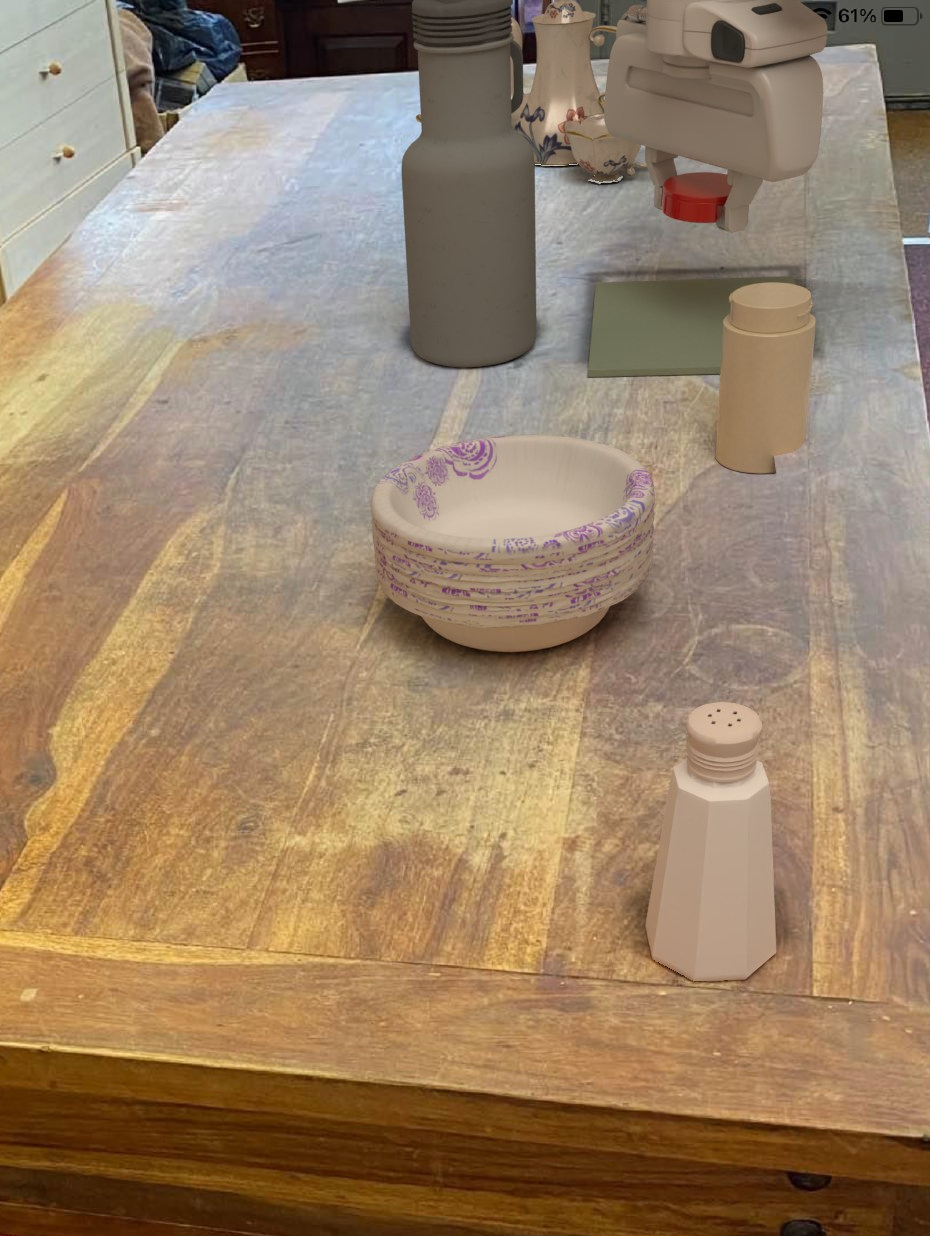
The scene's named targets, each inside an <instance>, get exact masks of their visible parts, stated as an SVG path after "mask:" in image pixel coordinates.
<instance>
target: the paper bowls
mask: <svg viewBox="0 0 930 1236" xmlns="http://www.w3.org/2000/svg"><path fill="white" fill-rule="evenodd" d="M654 486H655V485H654V480H653V478H652V476H651V474H650V473H649V471H648V469H647V468H646V466H644V464H643V463H641V462H640V461H639V460H638V459H637V458H635V457H633V456H632V455H630V454H629V453H626V452H625V451H623V450H621V449H618V448H616V447H614V446H610V445H608V444H604V443H601V442H597V441H593V440H589V439H584V438H578V437H572V436H564V435H563V436H562V435H549V434H548V435H546V434H515V435H514V434H513V435H512V434H511V435H509V434H508V435H498V436H489V437H481V438H475V439H469V440H465V441H459V442H457V443H450V444H448V445H443V446H441V447H438V448H434V449H432V450H429V451H425V452H423V453H420V454H419V455H415V456H413V457H411V458H408V459H407V460H405V461H403V462H401V463H399V464H398V465H396V466H395V467H394V468H391V470H389V471H388V472H387V473H386V474H385V475H384V476H383V477H382V478H381V479H380V480H379V481H378V482H377V484H376V486H375V488H374V490H373V492H372V495H371V498H370V506H369V507H370V513H371V527H372V529H371V530H372V543H373V550H374V563H375V565H374V566H375V572H376V579H377V582H378V583H379V586H380V588H381V590H382V592H384V594H385V595H387V597H388V599H390V600H391V601H392V602H394V604H395V605H398V606H399V607H400V608H402V609H403V610H406V611H408V612H410V613H412V614H414V615H417V616H420V617H421V618H422V619H423V621H424V622H425V623H426V624H427V625H428V626H429V627H430V629H432V630H433V631H434V632H435V633H437V634H438V635H440V636H441V637H443V638H444V639H446V640H449V641H450V642H453V643H455V644H458V645H461V646H464V647H468V648H472V649H477V650H481V651H487V652H488V651H489V652H500V653H519V652H521V653H522V652H530V651H539V650H543V649H549V648H552V647H556V646H560V645H562V644H565V643H568V642H571V641H573V640H575V639H577V638H579V637H581V636H582V635H585V634H586V633H588V632H589V631H591V630H592V629H593V628H594V627H596V626H597V625H598V624H599V623H600V622H601V621H602V619H603V618H604V617H605V616H606V614H607V612H608V611H609V610H610V607H611V606H613V605H617V604H618V603H620V602H623V601H624V600H626V599H628V598H629V597H630V596H631V595H632V594H633V593H635V592H636V591H637V590H639V588H640V587H642V586H643V584H644V583H645V582H646V580H647V578H648V576H649V573H650V571H651V569H652V566H653V559H654V558H653V556H654V549H653V548H654V535H655V526H654V521H655V506H656V493H655V487H654Z"/></svg>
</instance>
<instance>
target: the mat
mask: <svg viewBox="0 0 930 1236" xmlns="http://www.w3.org/2000/svg"><path fill="white" fill-rule="evenodd" d="M772 282H774V283H788V284H794V285H797V284H796V279H795V276H794V275H783V276H781V275H780V276H778V275H777V276H752V277H751V276H750V277H749V276H748V277H725V278H724V277H723V278H722V277H721V278H693V279H691V278H689V279H666V280H665V279H663V280H636V281H635V280H633V281H632V280H631V281H629V280H628V281H607V282H606V281H603V282H601V281H600V282H595V284H594V285H595V286H594V297H593V298H594V299H593V310H592V318H591V319H592V321H591V331H590V342H589V343H590V344H589V353H588V354H589V355H588V367H587V377H588V378H604V377H605V378H607V377H608V378H610V377H652V376H655V377H657V376H690V375H692V376H695V375H697V376H698V375H720V366H721V348H722V330H723V320H724V318H725V317H726V316H727V315H728V314H730V305H731V302H729V296H730V295H731V293H733V292H734V291H735V290H737V289H739V288H741V287H744V286H747V285H752V284H758V283H772Z"/></svg>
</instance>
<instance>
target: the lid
mask: <svg viewBox="0 0 930 1236" xmlns="http://www.w3.org/2000/svg"><path fill="white" fill-rule="evenodd" d="M727 176H728V173H727V174H726V173H721V172H708V171H707V172H706V171H699V172H685V173H681V174H677V176H673V177H671V178H669V179H667V180H666V181H665V182H664V185H663V189H662V197H661V206H662V210H661V212H662V213H663V214H664V215H665V216H666V217H668V218H671V219H672V220H676V221H681V222H685V223H691V224H693V223H694V224H714V223H715V224H716V220H717V214H716V213H717V205H721V204H725V203H726V201H727V198H728V196H729V193H730V191H731V189H732V186H733V185H729V184H728V183H727Z"/></svg>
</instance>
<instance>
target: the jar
mask: <svg viewBox="0 0 930 1236" xmlns="http://www.w3.org/2000/svg"><path fill="white" fill-rule="evenodd" d="M812 297H813V296H812V292H811V291H810V290H809V289H808V288H807V287H804V286H801V285H797V284H796V285H794V284H788V283H774V282H772V283H758V284H752V285H747V286H744V287H741V288H739V289H737V290H735V291H734V292H733V293H731V295H730V296H729V302H731V305H730V314H728V315H727V316H726V317H725V318H724V320H723V330H722V348H721V366H720V374H719V385H718V403H717V405H718V407H717V421H716V438H715V439H716V441H715V459H716V461H717V462H718V463H719V464H720V465H722V466H723V467H725V468H726V469H730V470H733V471H735V472H741V473H747V474H775V473H777V469H776V461H775V456H776V457H777V456H782V455H786V454H790V453H793V452H796V451H797V450H800V448H802V447H803V446H804V445H805V443H806V438H807V427H808V419H809V418H808V417H809V406H810V405H809V404H810V396H811V395H810V394H811V383H812V372H813V371H812V370H813V362H814V361H813V360H814V349H815V337H816V328H817V327H816V326H817V319H816V317H815V315H813V314H812V313H811V311H812V309H813V307H814V303H813V299H812Z"/></svg>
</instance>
